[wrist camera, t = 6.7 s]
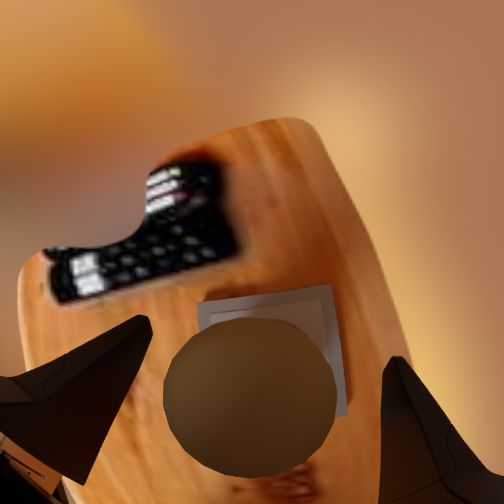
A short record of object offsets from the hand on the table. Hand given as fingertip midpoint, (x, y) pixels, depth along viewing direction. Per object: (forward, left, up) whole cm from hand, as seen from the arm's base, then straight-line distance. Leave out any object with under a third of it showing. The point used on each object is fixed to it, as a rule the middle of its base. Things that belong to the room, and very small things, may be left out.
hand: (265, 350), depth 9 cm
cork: (-2, 0, -8) cm, 8 cm away
